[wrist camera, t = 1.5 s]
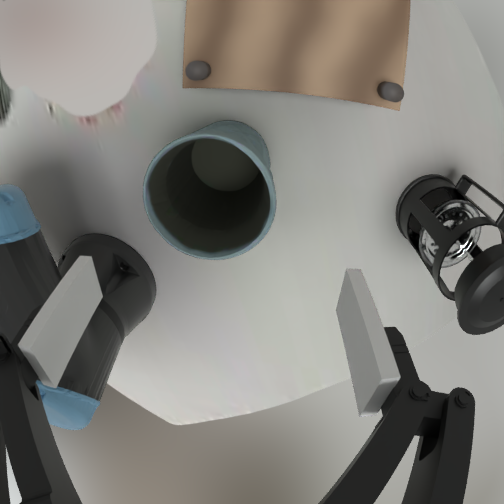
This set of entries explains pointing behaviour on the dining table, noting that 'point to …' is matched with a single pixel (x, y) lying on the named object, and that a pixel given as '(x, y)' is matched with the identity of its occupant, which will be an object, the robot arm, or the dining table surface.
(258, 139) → the teal plant pot
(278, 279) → the dining table surface
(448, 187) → the french press
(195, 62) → the wooden board with feet
